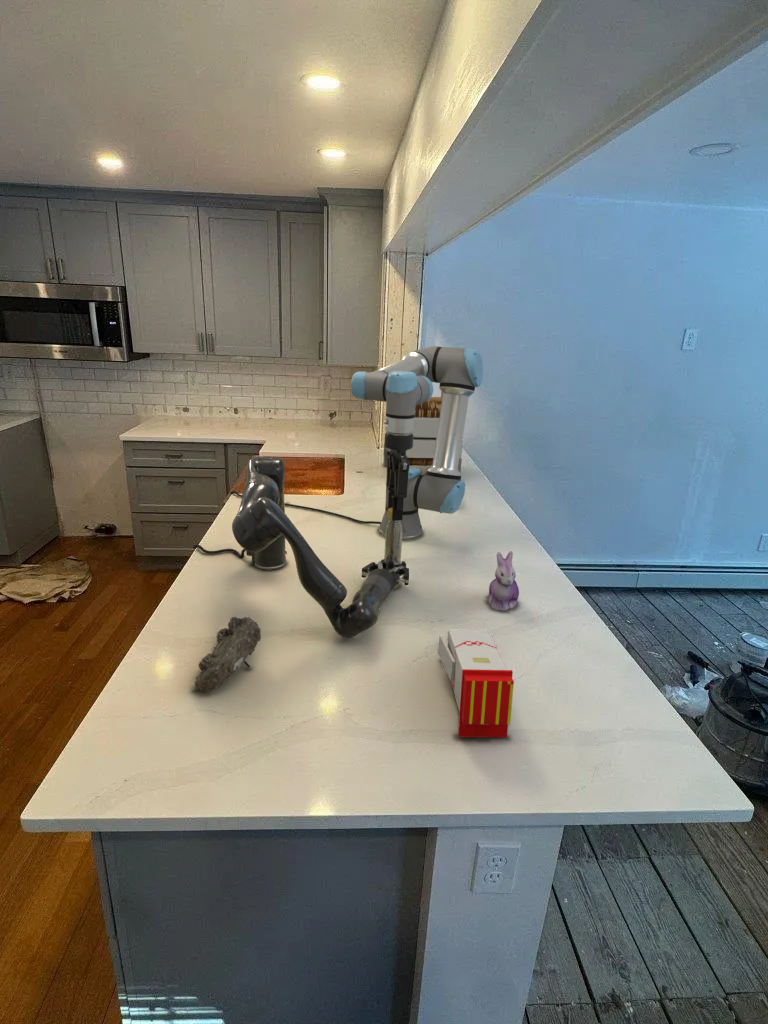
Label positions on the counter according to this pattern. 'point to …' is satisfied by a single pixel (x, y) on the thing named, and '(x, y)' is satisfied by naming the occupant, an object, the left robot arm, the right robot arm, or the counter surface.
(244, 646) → the fossil
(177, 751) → the counter surface
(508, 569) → the figurine
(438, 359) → the right robot arm
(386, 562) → the bottle
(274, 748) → the counter surface
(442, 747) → the counter surface
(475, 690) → the toy
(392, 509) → the cap
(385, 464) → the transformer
